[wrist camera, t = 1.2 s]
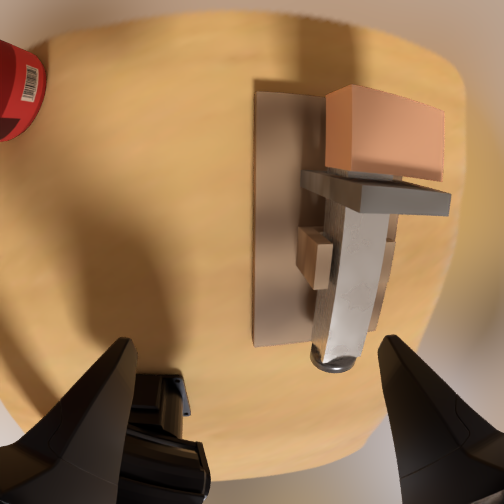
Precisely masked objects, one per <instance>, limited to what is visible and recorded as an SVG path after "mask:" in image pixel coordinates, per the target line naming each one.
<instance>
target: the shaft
mask: <svg viewBox="0 0 504 504" xmlns="http://www.w3.org/2000/svg"><path fill="white" fill-rule="evenodd" d="M327 173H329V174H334V175H338V176H342V177H347V178H360V179H373V180H384V181H393V175H388V174H378V173H368V172H357V171H348V170H343V169H337V168H332V167H327ZM389 215H390V214H369V213H358V212H356V211H354V210H352V209H350V208H347V207H345V206H343V205H341V204H339V203H337V202H334V201H332V200H330V199H328V198H326V201H325V216H324V229H323V236H324V237H325V238H326V239H328V240H329V241H330V242H331V243H333V250H332V260H331V268H330V276H329V284H328V289H319V290H317V298H316V305H315V313H314V320H313V327H312V334H311V341H312V347H311V353H310V359H311V361H312V363H313V364H314V365H315V366H316V367H317V368H318V369H320V370H322V371H325V372H329V373H342V372H345V371H347V370H349V369H351V368H352V367H353V366H354V364H355V361H356V357H359V356H361V352H362V349H363V345H364V342H365V338H366V335H367V331H368V327H369V323H370V319H371V315H372V311H373V307H374V302H375V298H376V293H377V289H378V284H379V279H380V274H381V268H382V263H383V257H384V251H385V245H386V238H387V231H388V223H389Z"/></svg>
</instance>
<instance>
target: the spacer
mask: <svg viewBox="0 0 504 504" xmlns="http://www.w3.org/2000/svg"><path fill="white" fill-rule="evenodd" d="M444 140H445V121H444V111H443V110H440V109H437V108H435V107H432V106H429V105H426V104H423V103H420V102H417V101H414V100H411V99H408V98H405V97H401V96H398V95H394V94H391V93H387V92H383V91H380V90H376V89H372V88H367V87H363V86H358V85H354V84H351V85H348V86H346V87H343V88H341V89H338V90H336V91H334V92H331V93H329V94H327V95H326V154H325V166H326V167H332V168H337V169H343V170H348V171H357V172H368V173H378V174H388V175H396V176H405V177H412V178H419V179H426V180H433V181H439V182H442V179H443V165H444Z"/></svg>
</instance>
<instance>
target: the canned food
mask: <svg viewBox="0 0 504 504" xmlns="http://www.w3.org/2000/svg"><path fill="white" fill-rule="evenodd" d="M45 89H46V73H45V69H44V67H43V65H42V63H41V62H40V60H39V59H38V57H37V56H35V55H34V54H32V53H30V52H28V51H26V50H23V49H21V48H18V47H16V46H14V45H12V44H9V43H7V42H4V41H2V40H0V142H3V141H8V140H11V139H13V138H15V137H16V136H18V135H20V134H21V133H23V132H24V131H25V130H26V129H27V128H28V127H29V126H30V124H31V123H32V122H33V120H34V119H35V117H36V115H37V113H38V112H39V109H40V107H41V104H42V102H43V98H44V95H45Z"/></svg>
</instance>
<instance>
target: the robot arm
mask: <svg viewBox="0 0 504 504" xmlns="http://www.w3.org/2000/svg"><path fill="white" fill-rule="evenodd" d="M137 359H138V353H137V350H136V348H135V346H134V344H133V342H132V340H131V339H130V338H126V337H120V338H118V339H117V340H116V341H115V342H114V343H113V344H112V345H111V346H110V347H109V348H108V349H107V350H106V351H105V352H104V354H103V355H102V356H101V357H100V358H99V359H98V360H97V361H96V362H95V363H94V364H93V365H92V366H91V367H90V368H89V369H88V370H87V371H86V372H85V373H84V375H83V376H82V377H81V378H80V379H79V380H78V381H77V382H76V383H75V384H74V385H73V386H72V387H71V388H70V390H69V391H68V392H67V393H66V394H65V395H64V396H63V397H62V398H61V399H60V401H58V403H57V404H56V405H55V406H54V407H53V408H52V409H51V410H50V411H49V412H48V413H47V414H46V415H45V416H44V417H43V418H42V419H41V420H40V421H39V422H38V423H37V424H36V425H35V426H34V427H32V428H31V429H30V430H29V431H28V432H27V433H26V434H25V435H24V436H22V437H21V438H20V439H19V440H18V441H16V442H15V443H13V444H10V445H7V446H2V447H0V504H202V503H203V501H204V500H205V499H206V497H207V495H208V493H209V489H210V483H211V476H210V470H209V467H208V463H207V459H206V456H205V452H204V448H203V444H202V442H197V441H196V442H193V441H188V440H184V439H182V426H183V416H190V415H191V410H190V406H189V402H188V398H187V393H186V389H185V385H184V380H183V377H182V376H180V375H146V374H136V367H137ZM378 361H379V367H380V375H381V382H382V389H383V394H384V398H385V403H386V407H387V412H388V416H389V421H390V426H391V431H392V436H393V441H394V447H395V452H396V458H397V464H398V471H399V478H400V486H401V494H402V504H504V433H502V432H500V431H498V430H496V429H495V428H494V427H493V426H492V425H490V424H489V423H488V422H487V421H486V420H484V419H483V418H482V417H481V416H480V415H479V414H478V413H476V412H475V411H474V410H473V409H472V408H471V407H470V406H469V405H468V404H466V403H465V402H464V401H463V400H462V399H461V398H460V397H459V395H458V394H456V393H455V392H454V390H452V388H450V386H449V385H448V384H447V383H446V382H445V381H444V380H443V379H441V378H440V377H439V376H438V375H437V374H436V373H435V372H434V371H433V370H432V369H431V368H430V367H429V366H428V365H427V364H426V363H425V362H424V361H423V360H422V359H421V358H420V357H419V356H418V355H417V354H416V353H415V352H414V351H413V350H412V349H411V348H410V347H409V346H408V345H406V344H405V343H404V342H403V341H402V340H401V339H400V338H399V337H398V336H397V335H394V334H393V335H386V336H385V337H384V339H383V341H382V343H381V344H380V346H379V348H378ZM177 379H178V380H177Z"/></svg>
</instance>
